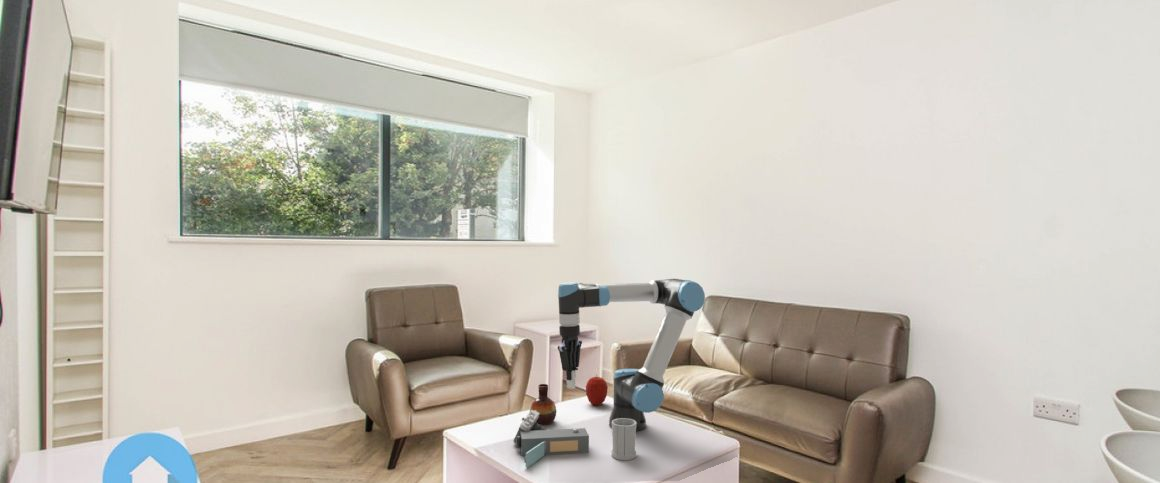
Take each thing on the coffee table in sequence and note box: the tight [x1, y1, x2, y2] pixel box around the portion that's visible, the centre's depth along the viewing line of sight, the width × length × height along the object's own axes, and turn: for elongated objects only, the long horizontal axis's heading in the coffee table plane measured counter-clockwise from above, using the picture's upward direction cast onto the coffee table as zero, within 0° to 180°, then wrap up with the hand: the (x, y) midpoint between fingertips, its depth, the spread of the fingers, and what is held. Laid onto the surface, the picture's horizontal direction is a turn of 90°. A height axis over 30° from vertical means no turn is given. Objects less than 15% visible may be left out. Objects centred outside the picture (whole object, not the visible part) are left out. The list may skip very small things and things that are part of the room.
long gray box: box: [515, 427, 590, 457], centre depth 201 cm, size 26×8×7 cm, turn 100°
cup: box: [610, 418, 637, 461], centre depth 197 cm, size 10×9×12 cm
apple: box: [585, 374, 609, 407], centre depth 257 cm, size 10×10×14 cm
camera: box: [512, 410, 546, 445], centre depth 211 cm, size 9×16×10 cm, turn 170°
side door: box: [524, 441, 547, 468], centre depth 191 cm, size 13×1×5 cm, turn 154°
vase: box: [529, 383, 557, 426], centre depth 231 cm, size 11×11×15 cm
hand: (571, 387), depth 205 cm, fingers closed
